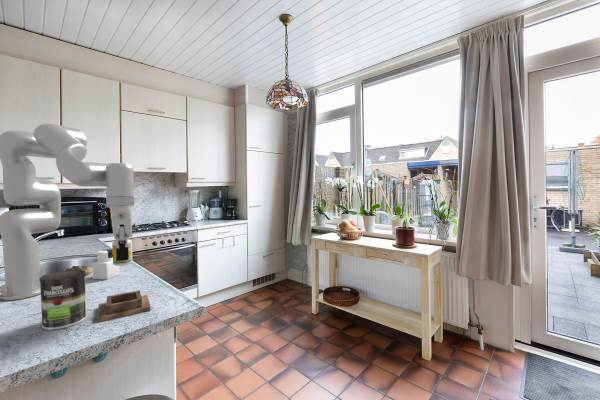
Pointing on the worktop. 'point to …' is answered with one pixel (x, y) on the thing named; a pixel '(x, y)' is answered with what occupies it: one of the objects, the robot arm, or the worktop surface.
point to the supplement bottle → (129, 245)
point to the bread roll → (86, 269)
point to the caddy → (123, 305)
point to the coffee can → (63, 299)
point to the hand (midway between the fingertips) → (122, 257)
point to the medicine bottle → (105, 266)
